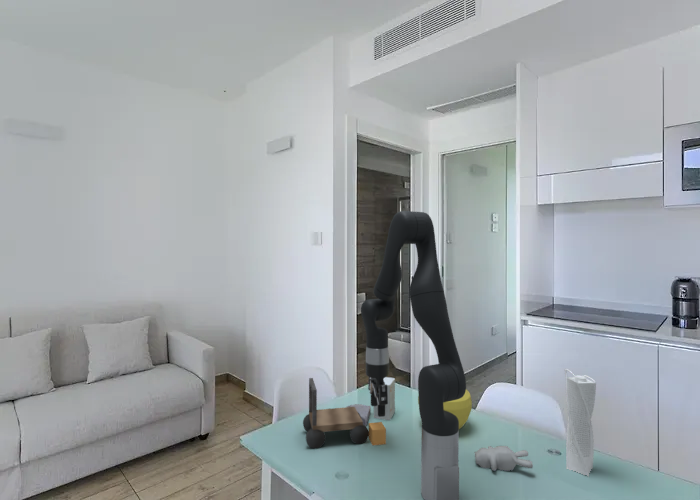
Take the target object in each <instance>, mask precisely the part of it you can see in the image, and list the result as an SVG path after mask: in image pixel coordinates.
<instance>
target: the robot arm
mask: <svg viewBox="0 0 700 500" xmlns="http://www.w3.org/2000/svg"><path fill="white" fill-rule="evenodd" d="M433 222H434V221H433V220H432V218H431V216H430V215H429V214H428V213H427V212H423V211H413V210H412V211H410V210H409V211H408V210H401V211H398V212H395V214H394V215H393V217H392V220H391V222H390V225H389V229H388V234H387V240H386V245H385V249H384V254H383V260H382V264H381V268H380V271H379V273H378V276H377V279H376V282H375V284H374V287H373V294H374V296H375V297H376V298H374V299H372V298H371V299H369V298H368V299H365V300H363V302H362V304H361V306H360V314H361V318H362V321H363V325H364V330H365V334H366V336H365V337H366V348H365V375H366V376H367V377H368V383H367V384H368V387H367V390H368V391H369V394H370V407H374V406H377V405H378V416H379V417H383V416H385V405H386V404H388V392H387V387H388V386H387V385H385V382H384V380H383V379H384V378H385V377H389V375H390V352H389V332H388V330H387V329H386V328H385V327H379V326H378V325H377V323H376V322H378V321H379V322H380V321H387V320H390V318H391V317H393V315H394V311H395V301H396V294H397V292H398V289H399V287H400V286H401V282H402V278H403V270H402V266H401V261H400V252H401V250H402V248H403V246H404V245H415V247H416V255H417V264H416V269H415V271H414V274H413V276H412V279H411V282H410V285H409V290H408V291H409V293H408V294H409V300H410V305H411V311H412V315H413V317H414V319H415V321H416V322H417V324H418V325H419V327H420V328H421V329H422V330H423V331H424V333H425V334H426V335H427V337H428V338H429V339H430V340H431V342H432V344H433V347H434V349H435V353H436V356H437V360H438V363H436V364H430V365H425V366H424V367H423V366H422V368H421V370H420V371H419V373H418V376H417V377H418V379H417V389H418V390H417V391H418V396H419V404H418V407H419V408H418V410H419V411H418V412H419V415H420V420H421V421H420V422H421V436H420V437H421V438H420V439H421V442H420V443H421V444H420V445H421V446H420V447H421V452H420V453H421V459H420V462H421V465H420V474H421V475H420V476H421V478H420V480H421V481H420V487H421V488H420V492H421V493H420V494H421V497H422V498H423V499H424V500H460V466H459V450H460V448H459V443H460V441H459V440H460V439H459V438H460V437H459V436H460V435H459V434H460V429H459V421H458V418H457V417H456V416H455V415H454V414H452V413H450V412H448V411H445V410H444V407H443V403H444V402H448V401H452V400H457V399H460V398H462V397H463V396H464V394H465V392H466V389H467V382H466V381H467V380H466V375H465V371H464V368H463V364H462V360H461V358H460V354H459V351H458V348H457V345H456V341H455V339H454V337H455V336H454V333H453V330H452V325H451V320H450V316H449V312H448V305H447V300H446V295H445V290H444V286H443V283H442V277H441V271H440V267H439V261H438V254H437V243H436V234H435V228H434V223H433ZM382 398H383V400H382Z"/></svg>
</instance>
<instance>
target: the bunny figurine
mask: <svg viewBox="0 0 700 500" xmlns="http://www.w3.org/2000/svg"><path fill="white" fill-rule="evenodd" d="M473 454H474V460H475V465H478V466H480V467H481V468H483V469H490V468H491V470H492V471H497V469H498V470H500V471H503V470H504V471H505V472H507V471H508V472H510V470H511V471H513V470H514V468H515V467H516V466H521V467H524V468H526V469H533V467H534V464H533V461H532V460H530V459H529V460H528V459H523V458H524V457H528V456H529V452H528V451H527V450H524V449H522V450H519V451H516V452H514V451H513V450H512V449H511V448H510V447H509V446H507V445H498V446H494V447H492V445H488V446H487V447H480V448H478V450H477V451H474V453H473ZM522 457H523V458H522Z"/></svg>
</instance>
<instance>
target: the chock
mask: <svg viewBox="0 0 700 500" xmlns="http://www.w3.org/2000/svg"><path fill="white" fill-rule="evenodd" d="M368 431H369V436H368V440H369V441H370V444H371V445H372V446H380V445H386V444H387V428H386V427H385V426H384V424H383V422H382V421H377V422H368Z"/></svg>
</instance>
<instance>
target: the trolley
mask: <svg viewBox="0 0 700 500" xmlns="http://www.w3.org/2000/svg"><path fill="white" fill-rule="evenodd" d="M317 393H318V390H317V387H316V384H315V380H314V378H313V377H309V378H308V413H307V414H306V415H305V416H304V418H303V420H302V425H303V429H304V430H305V431H306V434H305V435H306V436H305V439H306V444H307V446H308V447H310V448H311V449H319V448H322V446H323V445H324V444H325V442H326V434H325V432H334V431H335V432H336V431H346V430H347V431H348V430H349V438H350V439H351V441H352V442H353V443H354V444H356V445H361V444H363V443H365V442H367V440H369V428H368V427H367V426H365V425H364V424H363V421H362V419H361V416H360V414H359V413H358V412H357V410H356V408H355V407H347V406H346V407H336V408H334V407H333V408H325V409H324V408H322V409H317V408H318V406H317V404H318V403H317V402H318V401H317V400H318V399H317V398H318V397H317V396H318V395H317Z"/></svg>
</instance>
